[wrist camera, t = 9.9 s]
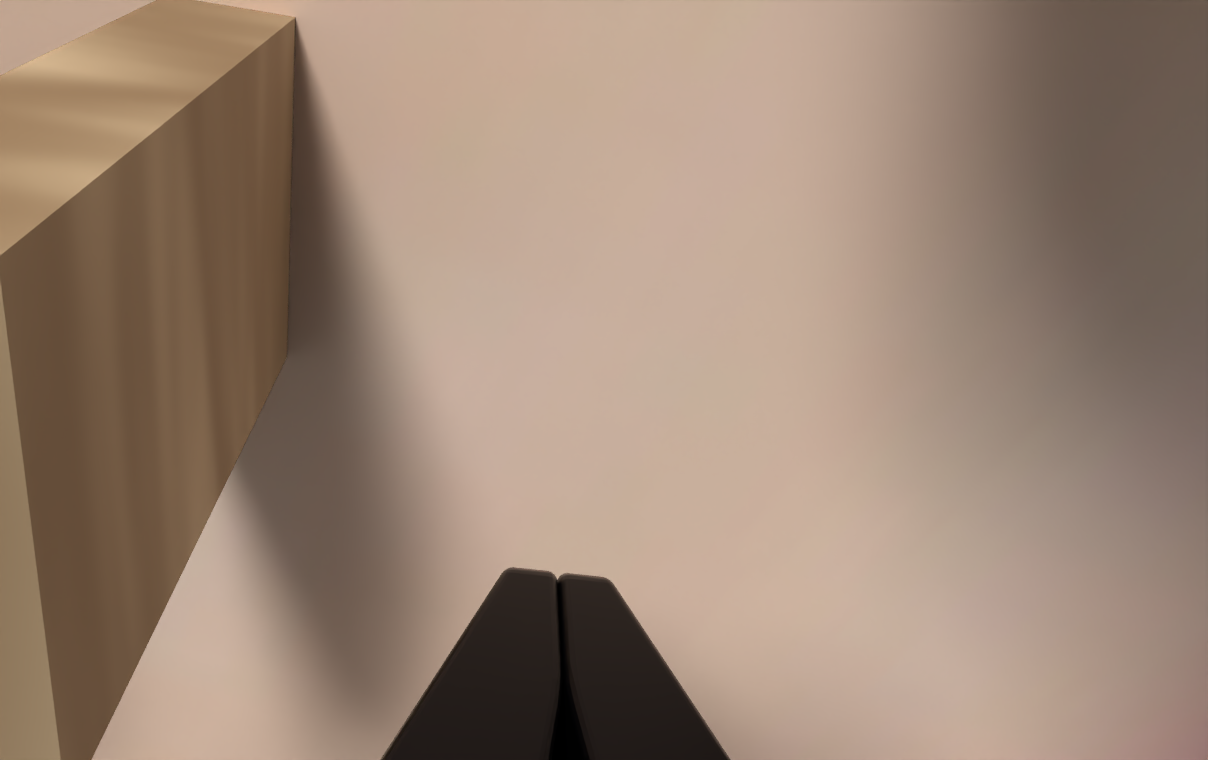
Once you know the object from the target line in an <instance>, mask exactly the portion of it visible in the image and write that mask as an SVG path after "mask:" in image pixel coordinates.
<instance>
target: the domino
mask: <svg viewBox="0 0 1208 760" xmlns="http://www.w3.org/2000/svg"><path fill="white" fill-rule="evenodd" d="M294 49H295V17H291V16H285V15H279V14H273V13H267V12H261V11H255V10H249V9H243V8H237V7H231V6H225V5H219V4H213V3H207V2H201V1H196V0H156V1H154V2H152V3H150V4H148V5H146V6H144V7H141V8H139V9H137V10H135V11H133V12H131V13H129V14H127V15H125V16H123V17H121V18H119V19H117V20H114V21H112V22H110V23H108V24H106V25H104V26H102V27H100V28H98V29H96V30H94V31H92V32H90V33H88V34H85V35H83V36H81V37H79V38H77V39H75V40H73V41H71V42H69V43H67V44H65V45H63V46H61V47H59V48H56V49H54V50H52V51H50V52H48V53H46V54H44V55H42V56H40V57H38V58H36V59H34V60H32V61H30V62H27V63H25V64H23V65H21V66H19V67H17V68H15V69H13V70H11V71H9V72H7V73H5V74H3V75H1V76H0V760H91V759H92V757H93V755H94V753H95V751H96V749H97V747H98V745H99V743H100V741H101V739H102V737H103V734H104V732H105V730H106V728H107V726H108V724H109V722H110V720H111V718H112V716H113V714H114V712H115V710H116V708H117V706H118V704H119V702H120V699H121V697H122V695H123V693H124V691H125V689H126V687H127V685H128V683H129V681H130V679H131V677H132V675H133V673H134V671H135V669H136V667H137V665H138V662H139V660H140V658H141V656H142V654H143V652H144V650H145V648H146V646H147V644H148V642H149V640H150V638H151V636H152V634H153V632H154V630H155V627H156V625H157V623H158V621H159V619H160V617H161V615H162V613H163V611H164V609H165V607H166V605H167V603H168V601H169V599H170V597H171V595H172V593H173V590H174V588H175V586H176V584H177V582H178V580H179V578H180V576H181V574H182V572H183V570H184V568H185V566H186V564H187V562H188V560H189V558H190V555H191V553H192V551H193V549H194V547H195V545H196V543H197V541H198V539H199V537H200V535H201V533H202V531H203V529H204V527H205V525H206V523H207V520H208V518H209V516H210V514H211V512H212V510H213V508H214V506H215V504H216V502H217V500H218V498H219V496H220V494H221V492H222V490H223V488H224V486H225V483H226V481H227V479H228V477H229V475H230V473H231V471H232V469H233V467H234V465H235V463H236V461H237V459H238V457H239V455H240V453H241V451H242V448H243V446H244V444H245V442H246V440H247V438H248V436H249V434H250V432H251V430H252V428H253V426H254V424H255V422H256V420H257V418H258V416H259V413H260V411H261V409H262V407H263V405H264V403H265V401H266V399H267V397H268V395H269V393H270V391H271V389H272V387H273V385H274V383H275V381H276V379H277V376H278V374H279V372H280V370H281V368H282V366H283V364H284V362H285V360H286V358H287V340H288V298H289V257H290V215H291V174H292V132H293V91H294Z"/></svg>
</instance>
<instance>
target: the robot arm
mask: <svg viewBox="0 0 1208 760" xmlns="http://www.w3.org/2000/svg"><path fill="white" fill-rule="evenodd" d="M381 760H730V758H729V757H728V755H727V754H726V752H725V751H724V749H723V748H722V746H721V745H720V743H719V742H718V740H717V739H716V737H715V736H714V734H713V733H712V731H711V730H710V728H709V727H708V725H707V724H706V722H705V721H704V719H703V718H702V716H701V715H700V713H699V712H698V710H697V709H696V707H695V706H694V704H693V703H692V701H691V700H690V698H689V697H688V695H687V694H686V692H685V691H684V689H683V688H682V686H681V685H680V683H679V682H678V680H677V679H676V677H675V676H674V674H673V673H672V671H671V670H670V668H669V667H668V665H667V664H666V662H665V661H664V659H663V658H662V656H661V655H660V653H659V652H658V650H657V649H656V647H655V646H654V644H653V643H652V641H651V640H650V638H649V637H648V635H647V634H646V632H645V631H644V629H643V628H642V626H641V625H640V623H639V622H638V620H637V619H636V617H635V616H634V614H633V613H632V611H631V610H630V608H629V607H628V605H627V604H626V602H625V601H624V599H623V598H622V596H621V595H620V593H619V592H618V590H617V589H616V587H615V586H614V584H613V583H612V582H611V581H610V580H608V579H607V578H604V577H598V576H589V575H579V574H570V573H565V574H563V575H561V576H560V577H559V578H558V580H557V579H556V577H555V575H554V574H553V573H552V572H549V571H542V570H533V569H523V568H514V567H513V568H508V569H506V570H505V571H504V572H503V573H502V574H501V575H500V577H499V579H498V580H497V582H496V583H495V585H494V586H493V588H492V589H491V591H490V592H489V594H488V595H487V597H486V599H485V600H484V602H483V603H482V605H481V606H480V608H479V609H478V611H477V612H476V614H475V615H474V617H473V619H472V620H471V622H470V623H469V625H468V626H467V628H466V629H465V631H464V632H463V634H462V635H461V637H460V639H459V640H458V642H457V643H456V645H455V646H454V648H453V649H452V651H451V652H450V654H449V655H448V657H447V658H446V660H445V662H444V663H443V665H442V666H441V668H440V669H439V671H438V672H437V674H436V675H435V677H434V678H433V680H432V682H431V683H430V685H429V686H428V688H427V689H426V691H425V692H424V694H423V695H422V697H421V698H420V700H419V702H418V703H417V705H416V706H415V708H414V709H413V711H412V712H411V714H410V715H409V717H408V718H407V720H406V722H405V723H404V725H403V726H402V728H401V729H400V731H399V732H398V734H397V735H396V737H395V738H394V740H393V742H392V743H391V745H390V746H389V748H388V749H387V751H386V752H385V754H384V755H383V757H382V758H381Z"/></svg>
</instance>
